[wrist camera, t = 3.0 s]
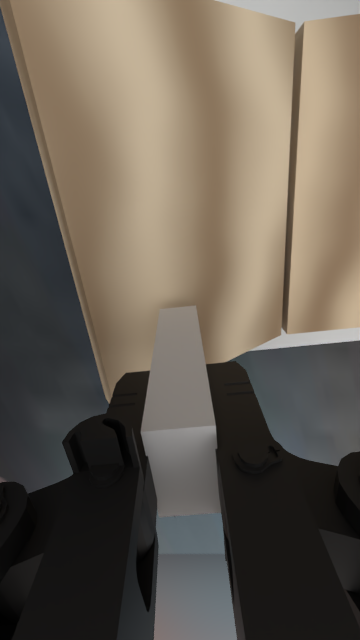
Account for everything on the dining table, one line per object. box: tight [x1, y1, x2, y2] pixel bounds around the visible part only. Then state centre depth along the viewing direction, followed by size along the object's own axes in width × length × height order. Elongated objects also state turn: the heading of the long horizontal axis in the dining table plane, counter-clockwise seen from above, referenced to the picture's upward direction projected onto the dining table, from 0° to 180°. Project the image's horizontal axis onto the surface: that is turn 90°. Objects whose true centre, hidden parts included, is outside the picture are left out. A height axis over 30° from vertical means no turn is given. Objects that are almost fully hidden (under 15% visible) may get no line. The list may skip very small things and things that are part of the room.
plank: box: [0, 0, 295, 404], centre depth 14 cm, size 12×16×2 cm
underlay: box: [215, 0, 360, 351], centre depth 18 cm, size 25×20×1 cm
